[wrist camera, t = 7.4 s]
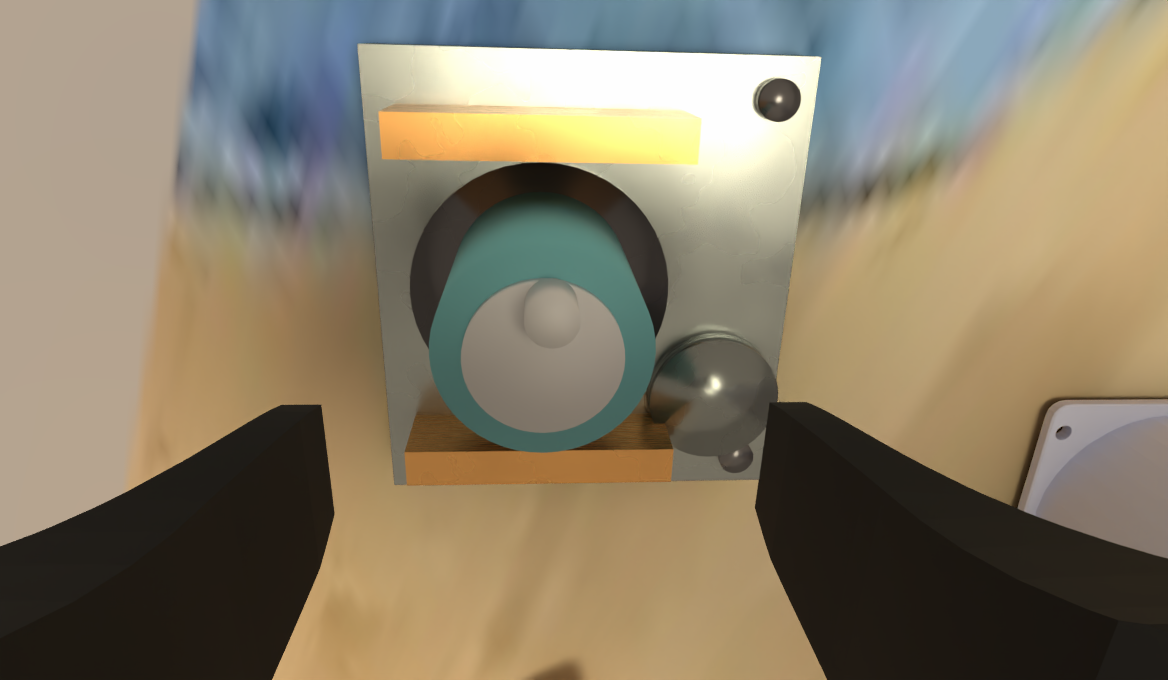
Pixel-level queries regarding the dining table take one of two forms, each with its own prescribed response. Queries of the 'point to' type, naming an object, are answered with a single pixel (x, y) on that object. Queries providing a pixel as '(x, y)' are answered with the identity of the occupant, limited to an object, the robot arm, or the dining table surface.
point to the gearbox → (628, 204)
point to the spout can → (541, 327)
